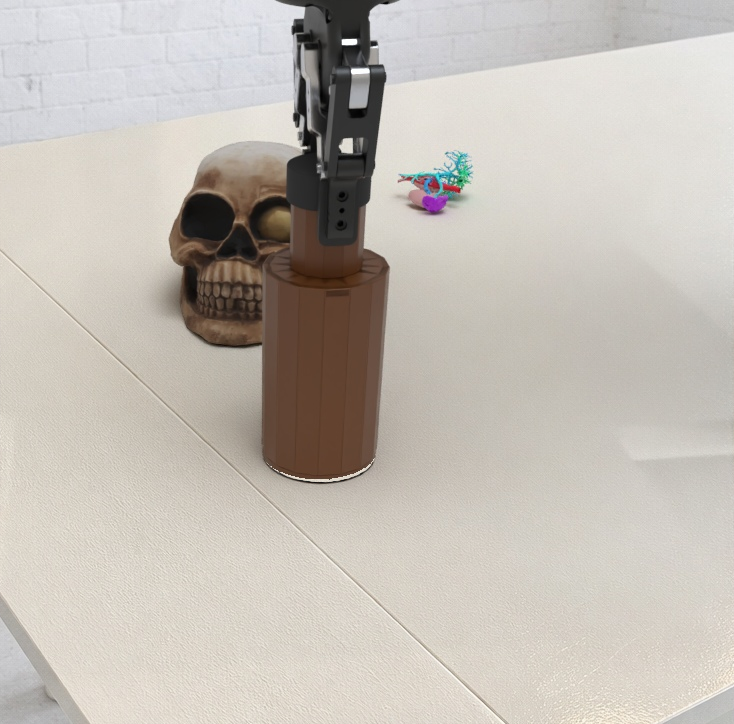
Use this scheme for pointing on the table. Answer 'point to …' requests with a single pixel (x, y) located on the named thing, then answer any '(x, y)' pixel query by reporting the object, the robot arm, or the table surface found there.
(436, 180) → the anatomy model
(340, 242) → the robot arm
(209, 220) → the brown skull
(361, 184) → the bung
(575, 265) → the table surface
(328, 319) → the bottle
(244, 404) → the table surface
